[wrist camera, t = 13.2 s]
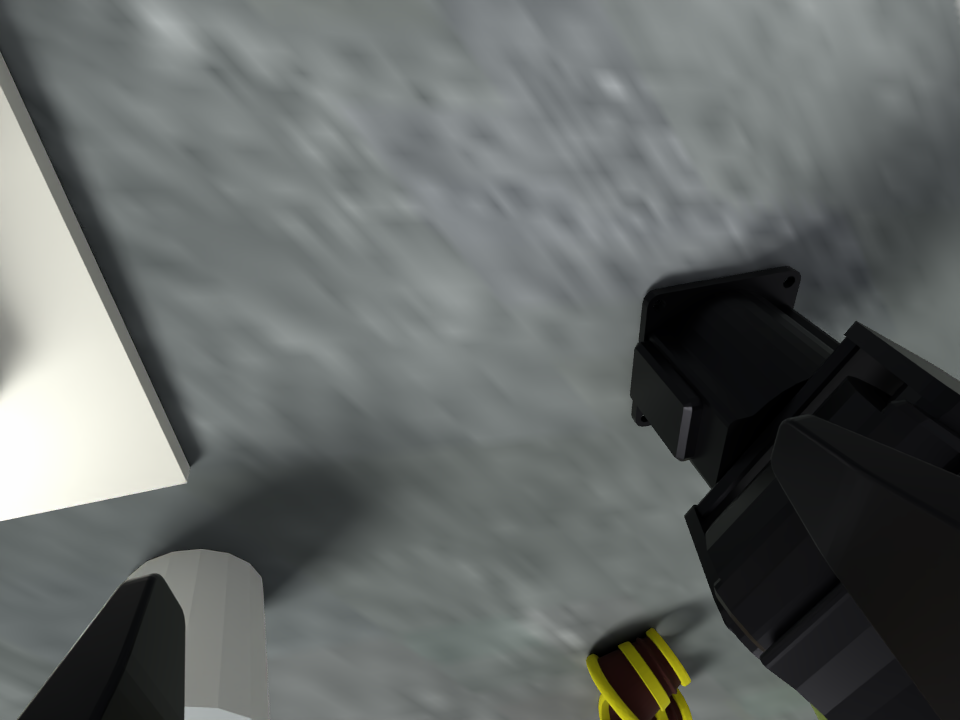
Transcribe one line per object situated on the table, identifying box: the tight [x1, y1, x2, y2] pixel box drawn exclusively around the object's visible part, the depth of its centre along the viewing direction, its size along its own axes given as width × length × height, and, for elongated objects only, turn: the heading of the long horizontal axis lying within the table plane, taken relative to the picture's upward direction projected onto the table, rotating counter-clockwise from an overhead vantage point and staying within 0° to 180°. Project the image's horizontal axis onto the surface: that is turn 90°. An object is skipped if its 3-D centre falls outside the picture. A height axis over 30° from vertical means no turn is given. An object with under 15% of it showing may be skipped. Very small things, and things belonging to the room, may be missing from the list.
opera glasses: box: [586, 628, 692, 720], centre depth 38 cm, size 10×5×5 cm, turn 13°
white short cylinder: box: [127, 549, 270, 720], centre depth 24 cm, size 7×7×7 cm
